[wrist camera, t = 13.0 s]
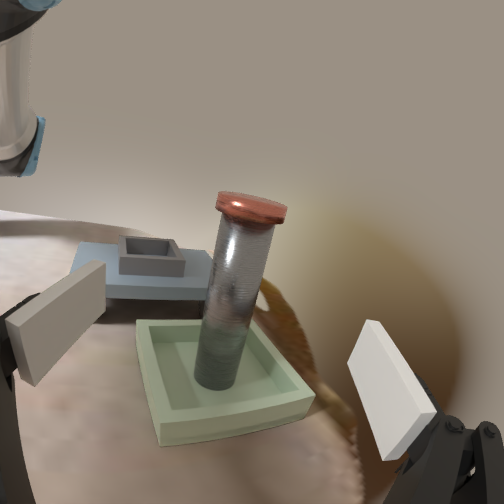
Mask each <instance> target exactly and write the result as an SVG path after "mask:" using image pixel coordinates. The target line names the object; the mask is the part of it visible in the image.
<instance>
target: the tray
mask: <svg viewBox="0 0 504 504" xmlns="http://www.w3.org/2000/svg"><path fill="white" fill-rule="evenodd" d="M201 323H202V320H136V348H137V354H138V359H139V364H140V369H141V374H142V379H143V384H144V388H145V392H146V397H147V401H148V405H149V409H150V413H151V417H152V420H153V424H154V428H155V431H156V435H157V438H158V442H159V445H160V447H165V446H175V445H183V444H191V443H198V442H205V441H211V440H217V439H223V438H228V437H233V436H238V435H243V434H247V433H252V432H256V431H260V430H264V429H268V428H272V427H276V426H280V425H283V424H287V423H290V422H294V421H297V420H300V419H304V417H305V415H306V413H307V412H308V410H309V408H310V406H311V404H312V402H313V400H314V398H315V396H316V394H315V393H314V392H313V391H312V390H311V389H310V387H309V386H308V385H307V384H306V383H305V382H304V380H303V379H302V378H301V377H300V376H299V375H298V373H297V372H296V371H295V370H294V369H293V368H292V366H291V365H290V364H289V363H288V362H287V360H286V359H285V358H284V357H283V356H282V354H281V353H280V352H279V351H278V350H277V348H276V347H275V346H274V345H273V344H272V342H271V341H270V340H269V339H268V337H267V336H266V335H265V334H264V333H263V331H262V330H261V329H260V328H259V326H258V325H257V324H256V323H255V321H254V320H253V319H251V323H250V327H249V331H248V334H247V338H246V342H245V346H244V349H243V353H242V357H241V361H240V364H239V368H238V372H237V376H236V379H235V383H234V385H233V386H232V387H231V388H229V389H227V390H223V391H214V390H209V389H206V388H204V387H202V386H201V385H199V384H198V383H197V382H196V380H195V378H194V375H193V374H194V367H195V360H196V354H197V347H198V341H199V335H200V329H201Z"/></svg>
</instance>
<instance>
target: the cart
mask: <svg viewBox="0 0 504 504" xmlns="http://www.w3.org/2000/svg"><path fill="white" fill-rule="evenodd" d="M93 259H95V260H99V261H103V262H106V292H105V298H122V299H152V300H199V303H198V306H199V314H200V317H201V319H202V317H203V311H204V305H205V300H206V294H207V288H208V283H209V277H210V272H211V266H212V261H213V260H212V258H211V257H210V256H209V255H208V254H207V252H206V251H205V250H191V249H179V248H178V246H177V244H176V243H175V241H174V240H172V239H160V238H147V237H134V236H120V235H119V244H107V243H92V242H80V243H79V246H78V249H77V252H76V255H75V258H74V261H73V264H72V267H71V270H70V274H71V273H72V272H74V271H75V270H77V269H79V268H80V267H82V266H83V265H85V264H87V263H88V262H90V261H91V260H93Z"/></svg>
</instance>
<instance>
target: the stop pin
mask: <svg viewBox="0 0 504 504" xmlns="http://www.w3.org/2000/svg"><path fill="white" fill-rule="evenodd" d="M215 208H216V209H217V210H218V211H220V212H222V215H221V220H220V225H219V230H218V235H217V241H216V246H215V251H214V256H213V261H212V266H211V272H210V277H209V283H208V288H207V294H206V300H205V305H204V311H203V317H202V323H201V329H200V335H199V341H198V347H197V354H196V360H195V367H194V374H193V375H194V378H195V380H196V382H197V383H198V384H199V385H201V386H202V387H204V388H206V389H209V390H214V391H223V390H227V389H229V388H231V387H232V386H233V385H234V383H235V379H236V376H237V372H238V368H239V364H240V361H241V357H242V353H243V349H244V346H245V342H246V338H247V334H248V331H249V327H250V323H251V319H252V315H253V311H254V308H255V304H256V300H257V295H258V292H259V288H260V284H261V280H262V276H263V272H264V268H265V264H266V260H267V256H268V252H269V248H270V244H271V240H272V236H273V232H274V228H275V224H283V223H284V220H285V216H286V211H287V207H286V206H285V205H283V204H280V203H278V202H275V201H271V200H268V199H264V198H260V197H256V196H252V195H247V194H242V193H235V192H226V191H221V192H218V197H217V202H216V207H215Z"/></svg>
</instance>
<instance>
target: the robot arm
mask: <svg viewBox="0 0 504 504" xmlns="http://www.w3.org/2000/svg"><path fill="white" fill-rule="evenodd" d="M60 2H61V0H0V176H17V177H22V176H31V175H32V174H34V172H35V171H36V167H37V162H38V156H39V152H40V148H41V143H42V138H43V133H44V128H45V119H44V118H43V117H40V116H36V114H35V112H34V110H33V108H32V107H31V106H30V105H29V104H28V103H29V100H28V99H29V71H30V58H31V47H32V38H33V32H34V26H35V24H37V22H39V21H40V20H41V19H42V18H43V17H44V16H45V14H46V13H47V12H48V10H49V8H53V7H54V6H56V5H57V4H59V3H60ZM105 292H106V262H103V261H99V260H95V259H93V260H91V261H90V262H88V263H87V264H85V265H83V266H82V267H80V268H79V269H77V270H75V271H74V272H72V273H71V274H69V275H68V276H66V277H65V278H63V279H62V280H60V281H58V282H57V283H55V284H54V285H52V286H51V287H49V288H48V289H47V290H45V291H44V292H42V293H37V294H34V295H31V296H29V297H27V298H26V299H24V300H23V301H22V302H20V303H18V304H17V305H16V307H15V306H14V307H13V308H11V309H10V310H8V311H7V312H6V313H4V314H3V315H1V316H0V504H36V502H35V499H34V496H33V493H32V489H31V486H30V482H29V478H28V474H27V470H26V465H25V461H24V456H23V451H22V446H21V440H20V433H19V426H18V418H17V409H16V398H15V380H14V376H13V373H12V372H13V371H14V370H15V369H16V368H18V371H19V374H20V377H21V379H22V380H24V381H25V382H27V383H29V384H31V385H32V386H34V387H35V386H36V385H37V384H38V383H39V382H40V380H41V379H42V378H43V377H44V376H45V375H46V374H47V373H48V371H49V370H50V369H51V368H52V367H53V366H54V365H55V364H56V362H57V361H58V360H59V359H60V358H61V357H62V356H63V355H64V354H65V353H66V351H67V350H68V349H69V348H70V347H71V346H72V345H73V344H74V343H75V342H76V341H77V340H78V339H79V338H80V337H81V335H82V334H83V333H84V332H85V331H86V330H87V329H88V328H89V327H90V326H91V325H92V324H93V323H94V322H95V321H96V320H97V319H98V318H99V317H100V316H101V315H102V314H103V313H104V312H105V311H106V301H105ZM347 364H348V366H349V369H350V372H351V374H352V376H353V379H354V382H355V385H356V387H357V390H358V393H359V395H360V398H361V401H362V403H363V406H364V409H365V411H366V415H367V417H368V420H369V423H370V425H371V429H372V431H373V434H374V437H375V440H376V443H377V446H378V449H379V452H380V455H381V458H382V461H385V460H395V459H399V458H400V457H401V456H402V454H403V453H404V452H405V451H406V450H407V451H408V454H409V457H408V458H407V459H406V460H405V461H404V462H403V463H402V464H401V465H400V467H399V468H398V469H397V470H396V471H395V473H397V472H398V471H399V470H400V472H399V474H398V476H397V478H396V480H395V482H394V484H393V486H392V488H391V490H390V491H389V493H388V495H387V497H386V499H385V500H384V502H383V504H504V446H503V442H502V438H501V433H500V431H499V429H498V428H497V426H496V425H494V424H493V423H491V422H488V421H483V422H481V423H480V425H479V426H478V427H477V428H476V430H472V429H466V428H465V426H464V424H463V423H462V422H461V421H460V420H459V419H458V418H456V417H453V416H450V415H447V416H446V415H445V414H444V412H443V411H442V409H441V407H440V406H439V404H438V402H437V401H436V399H435V398H434V396H432V393H431V391H430V390H428V387H427V385H426V383H425V382H424V380H422V379H421V378H420V377H419V376H418V375H417V374H416V373H413V372H412V370H411V369H410V367H409V365H408V364H407V362H406V361H405V359H404V358H403V356H402V355H401V353H400V352H399V350H398V349H397V347H396V346H395V344H394V343H393V341H392V340H391V338H390V337H389V335H388V334H387V332H386V331H385V330H384V328H383V326H382V325H381V323H380V322H379V321H373V320H366V322H365V324H364V326H363V329H362V331H361V333H360V336H359V338H358V340H357V343H356V345H355V347H354V349H353V351H352V354H351V356H350V358H349V360H348V362H347ZM474 467H475V473H474V474H473V475H472V476H471V474H470V471H471V470H472V469H473V468H474Z"/></svg>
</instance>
